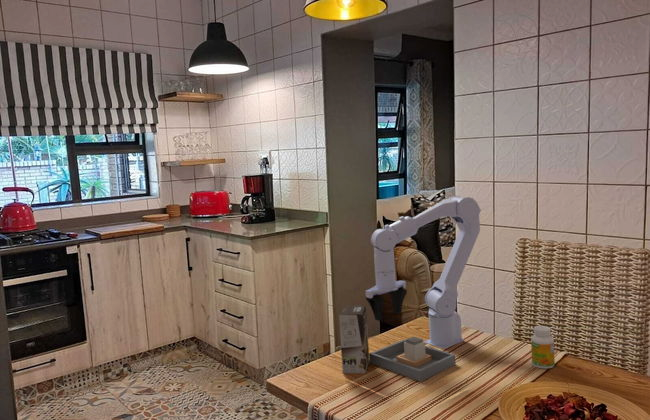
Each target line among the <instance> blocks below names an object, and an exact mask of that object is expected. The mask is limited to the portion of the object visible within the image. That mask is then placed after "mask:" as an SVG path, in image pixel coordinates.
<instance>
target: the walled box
mask: <svg viewBox="0 0 650 420" xmlns="http://www.w3.org/2000/svg"><path fill="white" fill-rule="evenodd" d="M404 342H406V339H402V340H399V341H397V342H395V343H391V344H389V345H387V346H384V347H382V348H380V349H377V350H374V351H372V352H369V364H373V365H374V366H378V367H379V368H380V367H381V368H382V369H386V370H388V371H391V372H393V373H396V374H399V375H402V376H404V377H406V378H409V379H412V380H415V381H418V382H423V381H424V380H427V379H430V378H431V377H434V376H435V375H437V374H439V373H441V372H443V371H446V370H447V369H449V368H452V367H454V366H456V364H457V363H456V354H453V353H451V352H447V351H443V350H441V349H436V348H434V347H431V346H427V345H425V353H426V354H428V355H431V357H432V360H430V361H428V362H426V363H424V364H421V365H419V366H417V367H413V366H410V365H407V364H404V363H401V362H399V361H396V356H399V355H401V354H403V353H404Z"/></svg>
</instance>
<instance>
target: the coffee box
mask: <svg viewBox="0 0 650 420" xmlns="http://www.w3.org/2000/svg"><path fill="white" fill-rule="evenodd" d="M367 319H368V318H367V305H366V304H356V305H355V304H354V305H353V304H352V305H344V306H343V307H342V309H341V311H340V312H339V314H338V320H339V321H338V323H339V335H340V336H339V337H340V338H339V339H340V354H341V366H342V367H341V368H342V373H343V374H366V373H367V370H368V366H369V364H370V358H369V353H370V347H369V346H370V345H369V335H368V334H369V333H368V321H367Z"/></svg>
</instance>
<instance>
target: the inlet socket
mask: <svg viewBox="0 0 650 420" xmlns="http://www.w3.org/2000/svg"><path fill="white" fill-rule="evenodd" d="M430 360H432V357H431V355H428V354H426V357H424V358H422V359H420V360H417V361H415V362H414V361H411V360H408V359H405V355H404V353H403V354H401V355H399V356H396V361H399V362H401V363H404V364H407V365H410V366H413V367H417V366H419V365H421V364H424V363H426V362H428V361H430Z"/></svg>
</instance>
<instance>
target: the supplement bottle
mask: <svg viewBox="0 0 650 420" xmlns="http://www.w3.org/2000/svg"><path fill="white" fill-rule="evenodd" d="M551 334H552V332H551V328H550V327H548V326H547V325H535V326H534V327H533V334H532V336H531V337H530V344H531V345H530V346H531V347H530V349H531V350H530V351H531V364H532V365H533V367H536V368H538V369H552V368H554V366H555V364H556V363H555V339H554V337H553V336H552V335H551Z"/></svg>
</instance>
